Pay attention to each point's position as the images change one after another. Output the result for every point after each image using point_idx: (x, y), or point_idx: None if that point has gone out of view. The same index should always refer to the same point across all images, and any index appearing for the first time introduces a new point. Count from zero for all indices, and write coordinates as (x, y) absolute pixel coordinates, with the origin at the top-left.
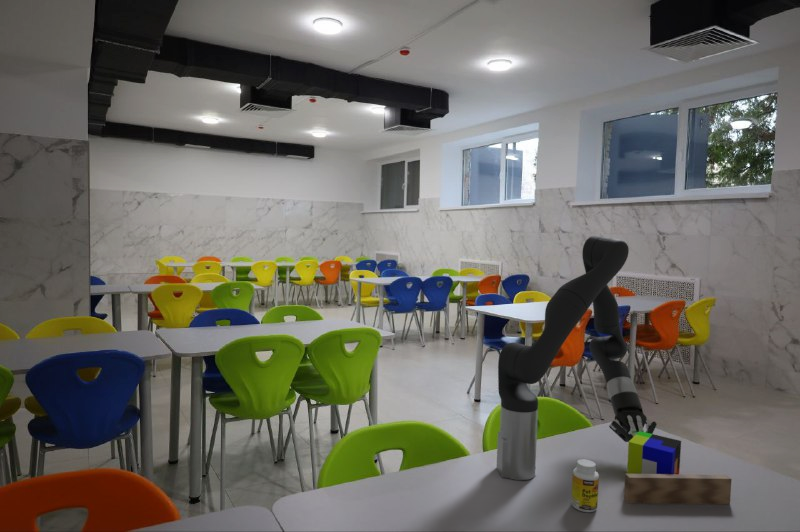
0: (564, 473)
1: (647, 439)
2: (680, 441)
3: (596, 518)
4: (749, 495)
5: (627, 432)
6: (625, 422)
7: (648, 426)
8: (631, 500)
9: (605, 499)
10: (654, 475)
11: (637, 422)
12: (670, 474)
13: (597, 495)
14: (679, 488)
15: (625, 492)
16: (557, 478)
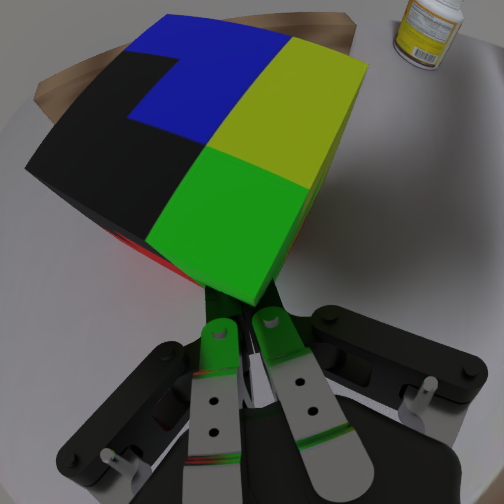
0: (488, 195)
1: (236, 109)
2: (33, 154)
3: (388, 30)
4: (5, 191)
5: (345, 340)
6: (372, 429)
7: (128, 456)
8: None
9: (383, 75)
10: (267, 22)
11: (238, 446)
12: None
13: (401, 21)
14: None
15: None
16: (492, 163)
